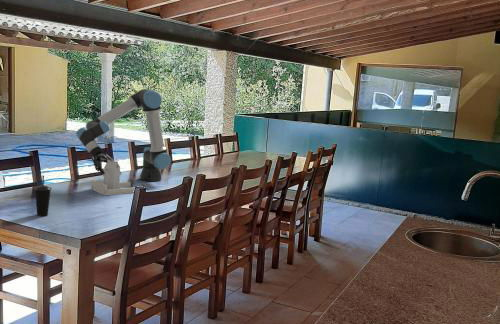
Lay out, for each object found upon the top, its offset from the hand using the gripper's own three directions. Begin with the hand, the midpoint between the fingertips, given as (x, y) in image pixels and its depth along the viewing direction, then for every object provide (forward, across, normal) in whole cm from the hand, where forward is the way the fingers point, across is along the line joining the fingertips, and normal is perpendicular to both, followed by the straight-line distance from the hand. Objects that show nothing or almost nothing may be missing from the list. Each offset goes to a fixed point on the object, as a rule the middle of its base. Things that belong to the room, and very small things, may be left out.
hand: (114, 176), depth 309 cm
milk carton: (+6, 0, -8) cm, 10 cm away
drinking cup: (+9, +66, -5) cm, 67 cm away
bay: (+7, -4, -6) cm, 11 cm away
